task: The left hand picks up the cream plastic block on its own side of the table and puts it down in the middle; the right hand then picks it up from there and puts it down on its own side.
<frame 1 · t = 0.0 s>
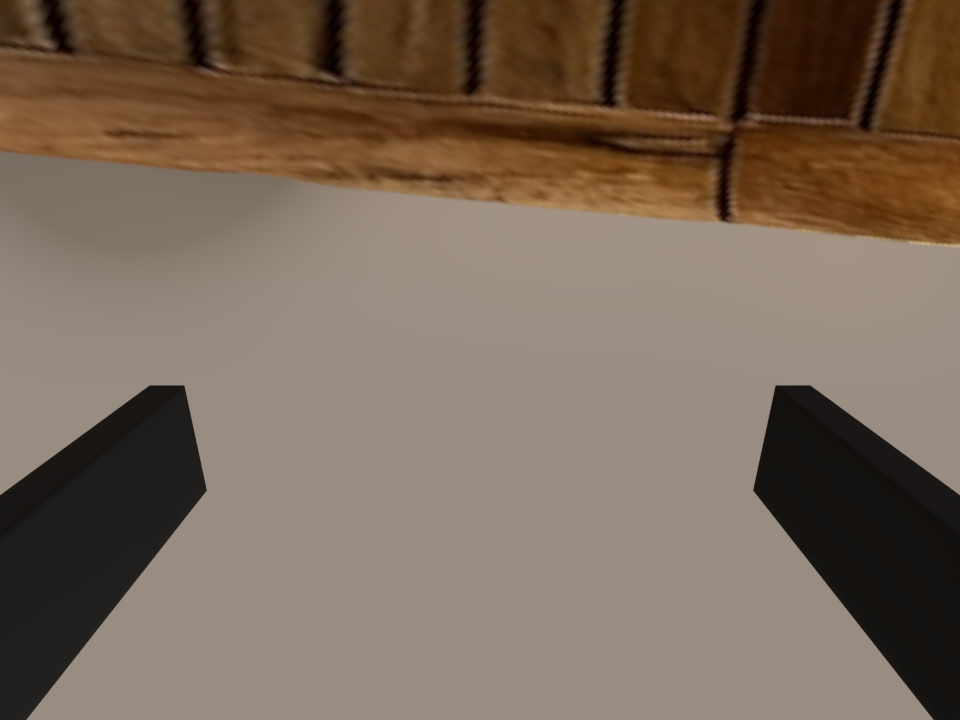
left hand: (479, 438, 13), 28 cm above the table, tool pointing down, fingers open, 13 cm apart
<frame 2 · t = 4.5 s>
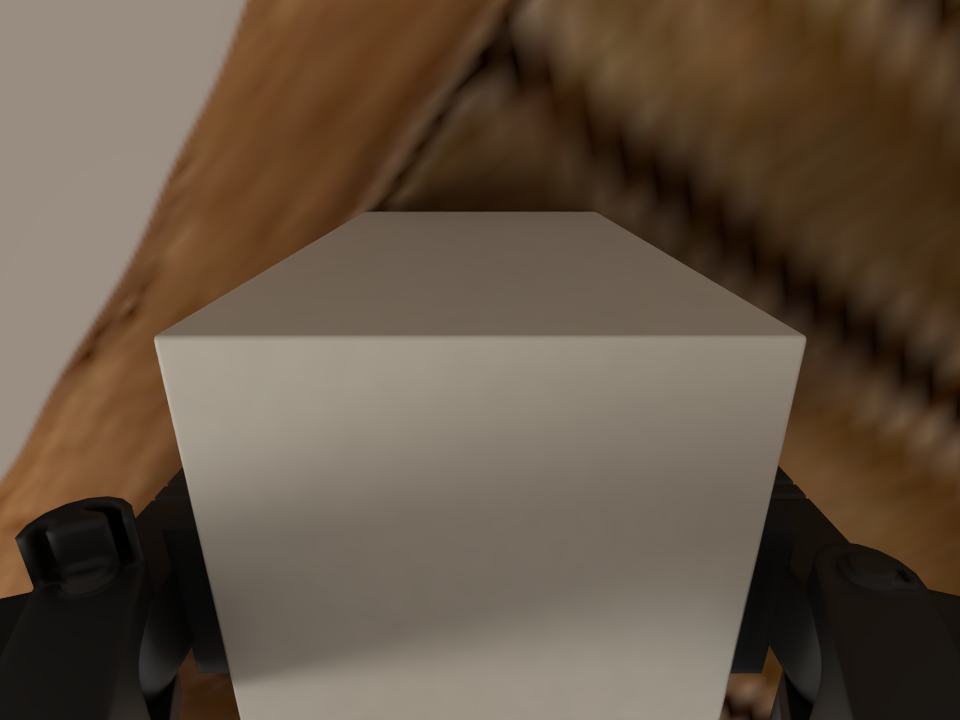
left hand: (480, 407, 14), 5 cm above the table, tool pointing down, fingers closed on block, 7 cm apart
block: (480, 342, 19), on the table, touching left hand
when the left hand's fingers open (7 cm above the table, at t = 14.0 s): block drops 2 cm, on the table.
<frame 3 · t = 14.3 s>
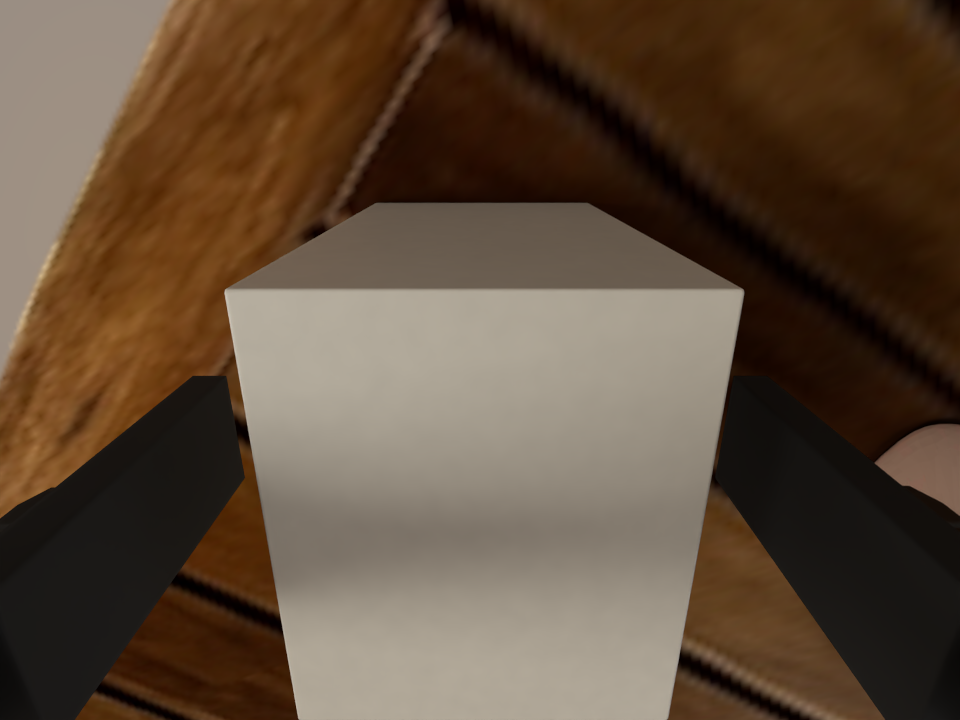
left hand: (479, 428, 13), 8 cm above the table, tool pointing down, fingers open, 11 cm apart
anatomical model: (931, 558, 24), on the table
block: (481, 324, 20), on the table
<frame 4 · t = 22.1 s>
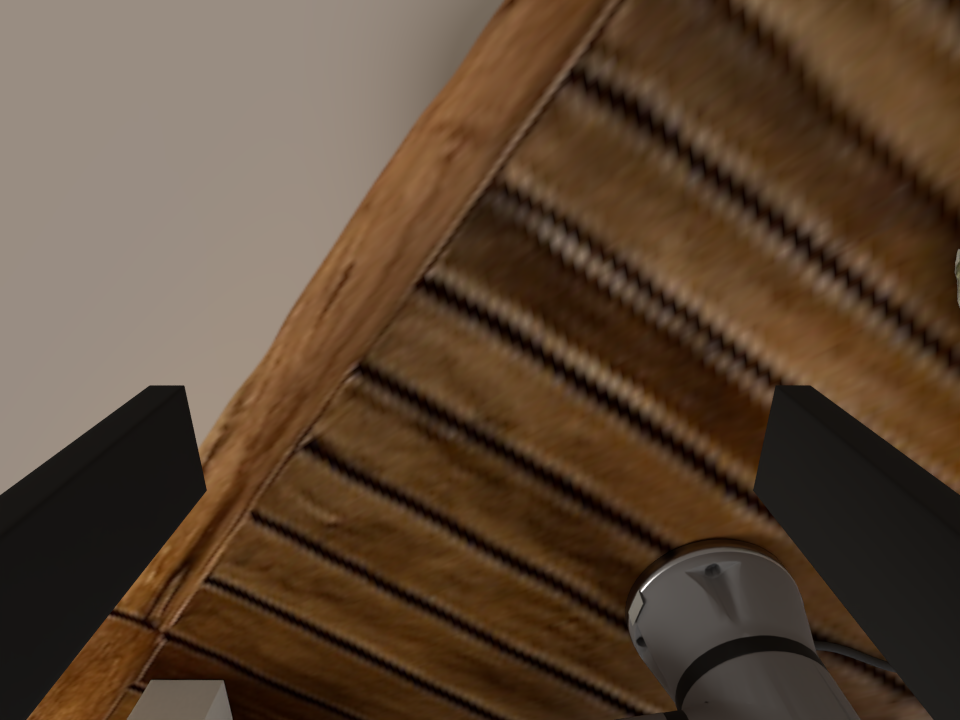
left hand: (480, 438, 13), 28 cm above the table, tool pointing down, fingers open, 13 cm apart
block: (195, 710, 56), on the table, touching right hand
when the right hand's fingers open (7 cm above the table, at t = 31.4 s): block drops 2 cm, on the table.
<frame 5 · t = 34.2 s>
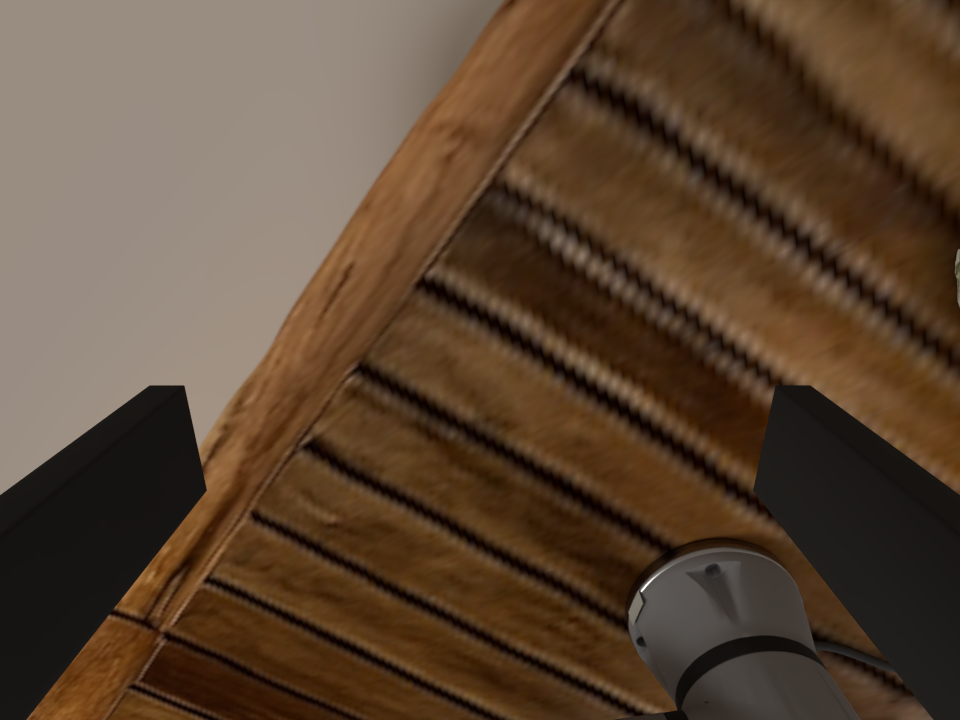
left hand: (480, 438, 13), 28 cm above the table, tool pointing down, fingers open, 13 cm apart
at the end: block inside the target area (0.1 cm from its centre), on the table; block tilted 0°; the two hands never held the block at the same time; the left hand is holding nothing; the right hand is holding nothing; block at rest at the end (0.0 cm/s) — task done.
